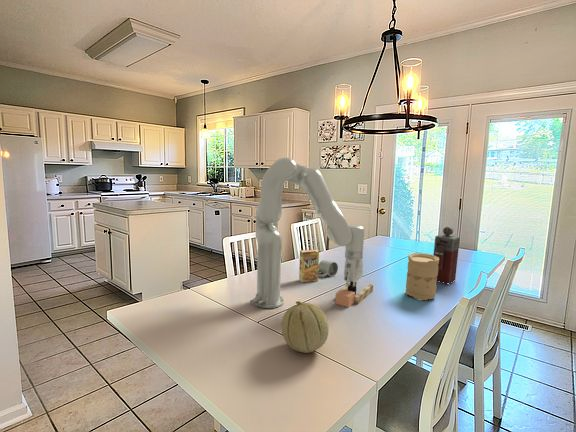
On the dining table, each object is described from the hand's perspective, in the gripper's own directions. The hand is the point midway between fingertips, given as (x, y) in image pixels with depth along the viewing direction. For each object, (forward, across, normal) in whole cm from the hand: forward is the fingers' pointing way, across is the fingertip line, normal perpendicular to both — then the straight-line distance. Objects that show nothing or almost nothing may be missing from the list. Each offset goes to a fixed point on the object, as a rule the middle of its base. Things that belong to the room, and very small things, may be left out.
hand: (351, 294), depth 143 cm
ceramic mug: (+2, +20, +23) cm, 31 cm away
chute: (+1, +4, 0) cm, 5 cm away
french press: (+2, +49, -28) cm, 56 cm away
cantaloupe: (+2, -46, -4) cm, 47 cm away
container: (+2, +22, -24) cm, 32 cm away
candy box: (+2, +7, +26) cm, 27 cm away
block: (+1, -7, 0) cm, 7 cm away
